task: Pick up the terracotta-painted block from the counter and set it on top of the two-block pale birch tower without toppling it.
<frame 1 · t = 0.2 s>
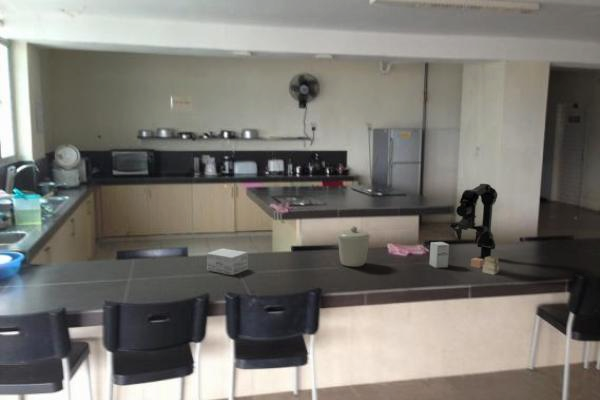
hand: (467, 242, 276), 14 cm above the countertop, fingers open, 9 cm apart
supplement box: (438, 266, 280), on the countertop
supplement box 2: (227, 270, 266), on the countertop
tower mid: (490, 265, 269), point 4 cm above the countertop, touching tower base
tower base: (490, 272, 269), on the countertop, touching tower mid
terracotta block: (477, 266, 280), on the countertop
canister: (352, 264, 279), on the countertop
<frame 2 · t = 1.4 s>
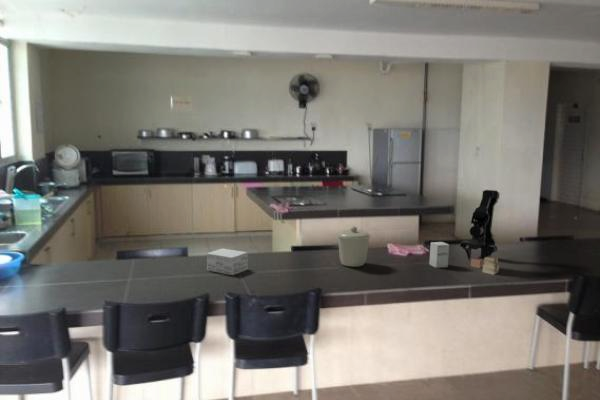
hand: (477, 261, 280), 2 cm above the countertop, fingers open, 9 cm apart
nothing on the countertop moved.
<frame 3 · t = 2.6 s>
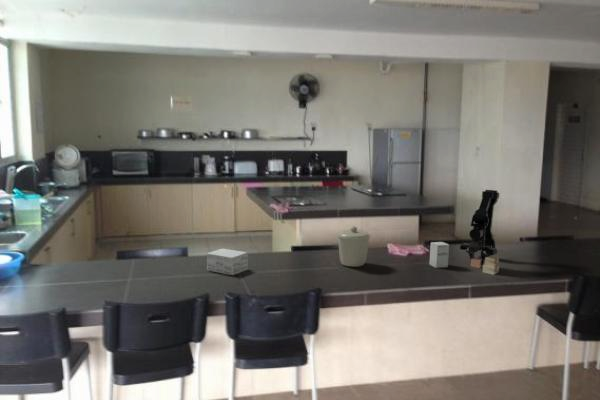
hand: (477, 264, 280), 1 cm above the countertop, fingers closed on terracotta block, 5 cm apart
terracotta block: (477, 266, 280), on the countertop, touching gripper
everything else where it was.
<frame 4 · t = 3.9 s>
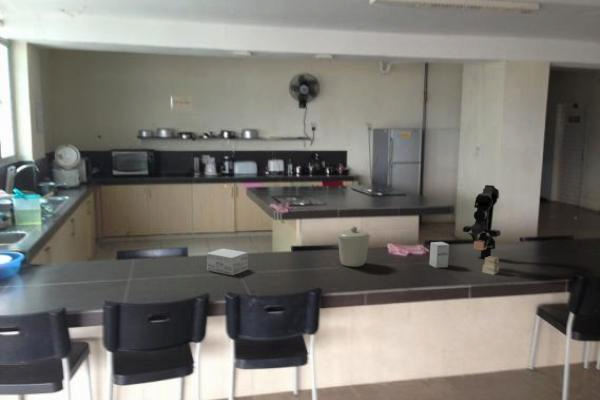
hand: (480, 246, 277), 11 cm above the countertop, fingers closed on terracotta block, 5 cm apart
terracotta block: (480, 248, 277), point 10 cm above the countertop, touching gripper
everything else where it was.
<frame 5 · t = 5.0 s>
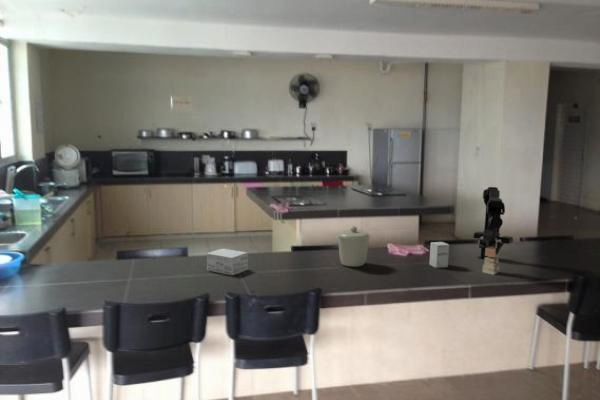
hand: (491, 253, 268), 10 cm above the countertop, fingers closed on terracotta block, 5 cm apart
terracotta block: (491, 255, 268), point 9 cm above the countertop, touching gripper
everything else where it was.
when the fingers open (10 cm above the countertop, at t = 5.6 s): terracotta block drops 1 cm, resting on tower mid.
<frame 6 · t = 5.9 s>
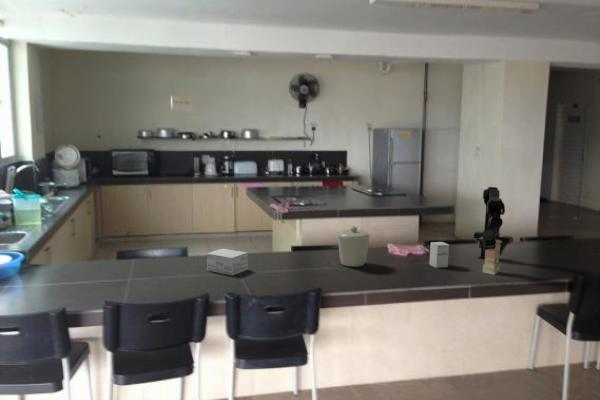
hand: (491, 253, 268), 10 cm above the countertop, fingers open, 9 cm apart
tower mid: (491, 265, 268), point 4 cm above the countertop, touching terracotta block, tower base
terracotta block: (491, 257, 268), point 8 cm above the countertop, touching tower mid
everything else where it was.
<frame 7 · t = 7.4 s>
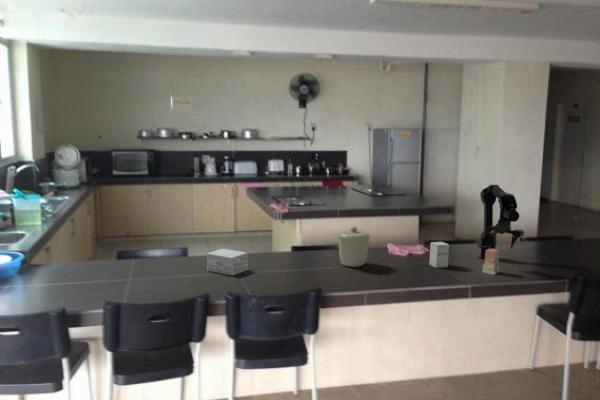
hand: (502, 246, 273), 12 cm above the countertop, fingers open, 9 cm apart
tower mid: (491, 265, 268), point 4 cm above the countertop, touching terracotta block
tower base: (490, 272, 269), on the countertop
everything else where it was.
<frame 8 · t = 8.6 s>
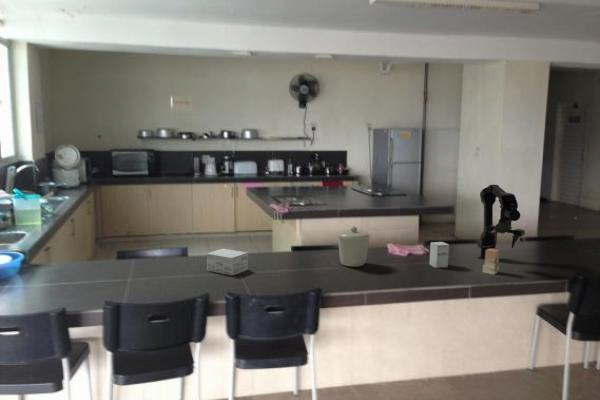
hand: (503, 246, 273), 13 cm above the countertop, fingers open, 9 cm apart
tower mid: (491, 265, 269), point 4 cm above the countertop, touching terracotta block, tower base
tower base: (490, 272, 269), on the countertop, touching tower mid
everything else where it was.
at the end: terracotta block 0.1 cm off-centre on the tower base, point 8.0 cm above the tower base's base; terracotta block tilted 0°; tower mid tilted 0° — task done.
